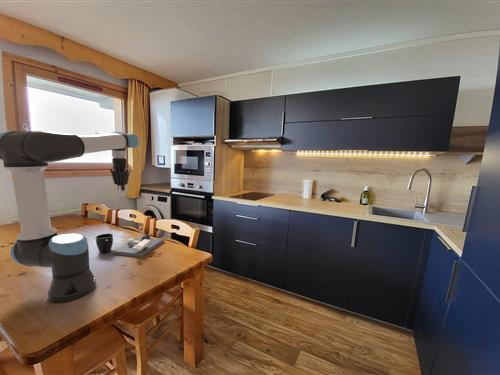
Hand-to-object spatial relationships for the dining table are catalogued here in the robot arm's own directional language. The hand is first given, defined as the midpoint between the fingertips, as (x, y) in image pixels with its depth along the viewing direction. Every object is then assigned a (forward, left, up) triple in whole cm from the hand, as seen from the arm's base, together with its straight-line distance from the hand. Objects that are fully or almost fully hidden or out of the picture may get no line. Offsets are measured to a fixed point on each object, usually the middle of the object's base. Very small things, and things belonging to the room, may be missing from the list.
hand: (121, 195), depth 130 cm
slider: (-6, -14, -30) cm, 33 cm away
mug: (-13, +1, -32) cm, 35 cm away
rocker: (-9, -20, -27) cm, 35 cm away
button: (-3, -8, -30) cm, 31 cm away
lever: (+4, -13, -29) cm, 32 cm away
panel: (-3, -14, -32) cm, 35 cm away
